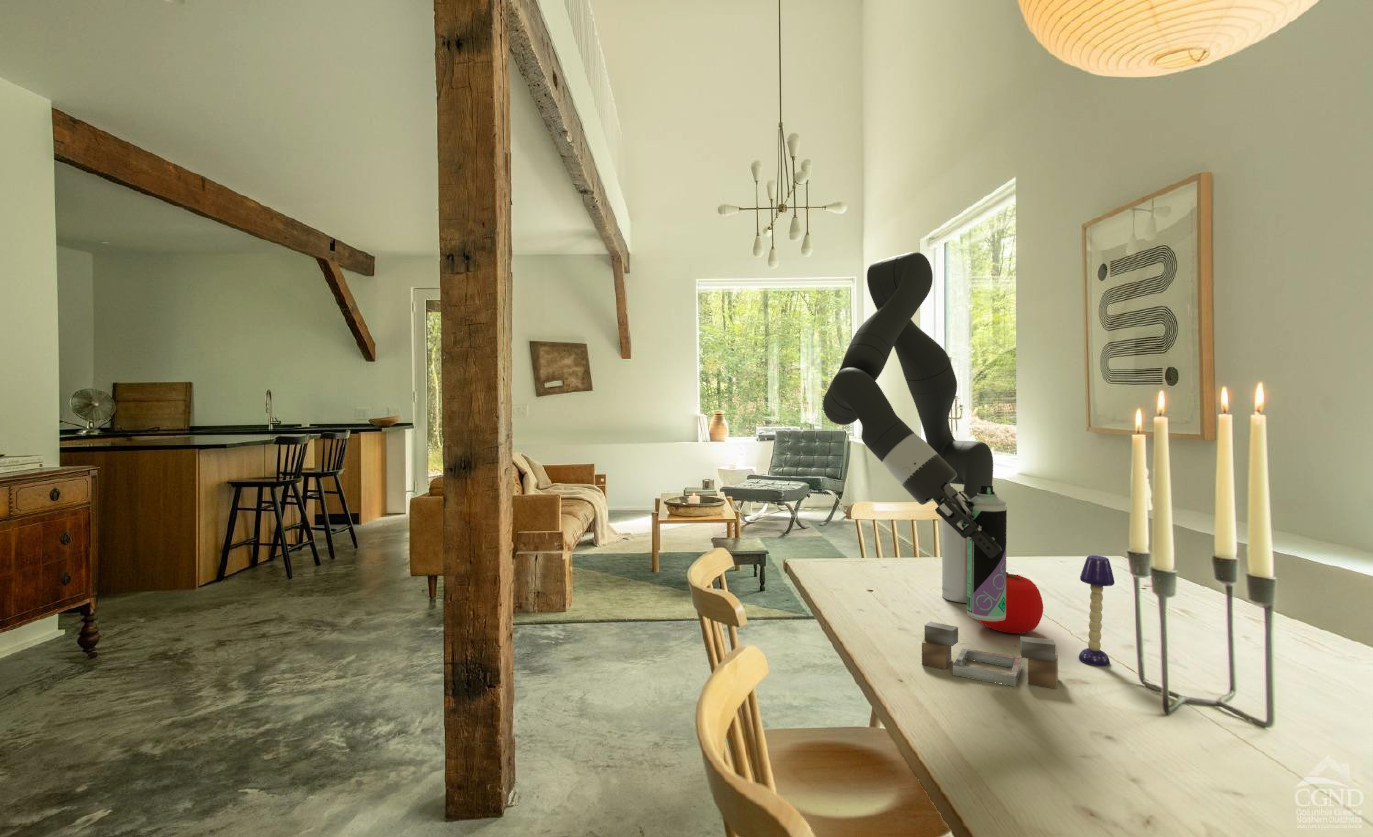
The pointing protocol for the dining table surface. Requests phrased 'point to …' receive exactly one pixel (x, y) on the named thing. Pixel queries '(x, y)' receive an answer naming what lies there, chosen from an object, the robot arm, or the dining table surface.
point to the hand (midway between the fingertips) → (999, 550)
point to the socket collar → (988, 674)
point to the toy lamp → (1096, 606)
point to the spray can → (987, 560)
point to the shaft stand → (1034, 649)
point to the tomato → (1019, 606)
